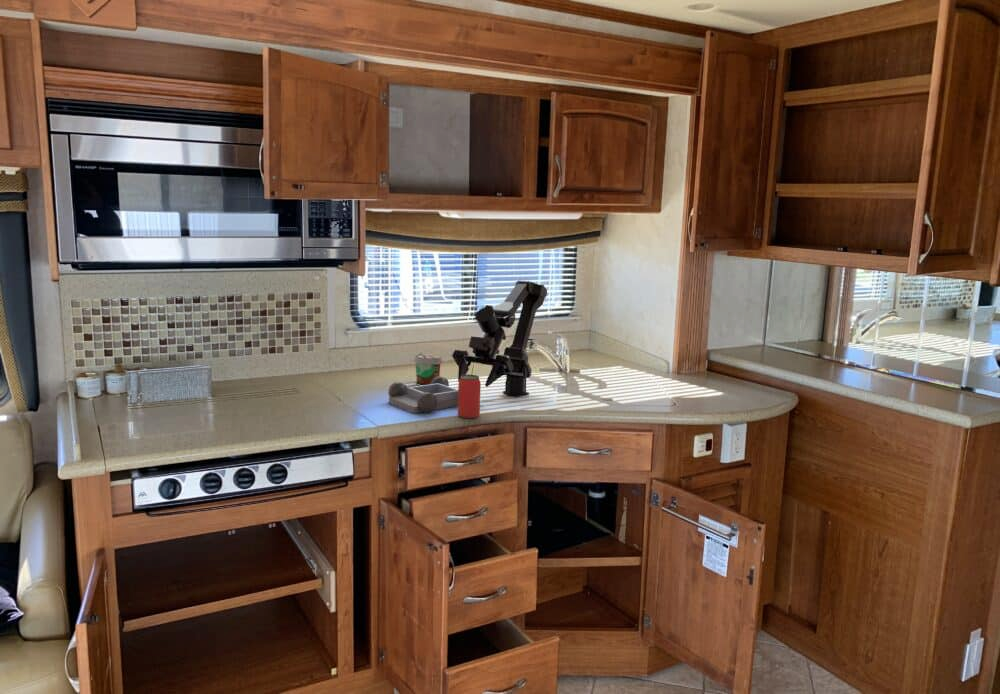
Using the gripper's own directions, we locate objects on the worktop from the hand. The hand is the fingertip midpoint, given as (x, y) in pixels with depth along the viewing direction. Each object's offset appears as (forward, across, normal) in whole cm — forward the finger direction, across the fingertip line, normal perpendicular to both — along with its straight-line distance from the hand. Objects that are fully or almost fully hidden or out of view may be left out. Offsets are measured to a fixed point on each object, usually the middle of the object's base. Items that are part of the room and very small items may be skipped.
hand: (472, 384), depth 234 cm
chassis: (+3, -17, +10) cm, 20 cm away
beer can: (+8, 0, +6) cm, 10 cm away
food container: (-11, -33, +24) cm, 43 cm away
